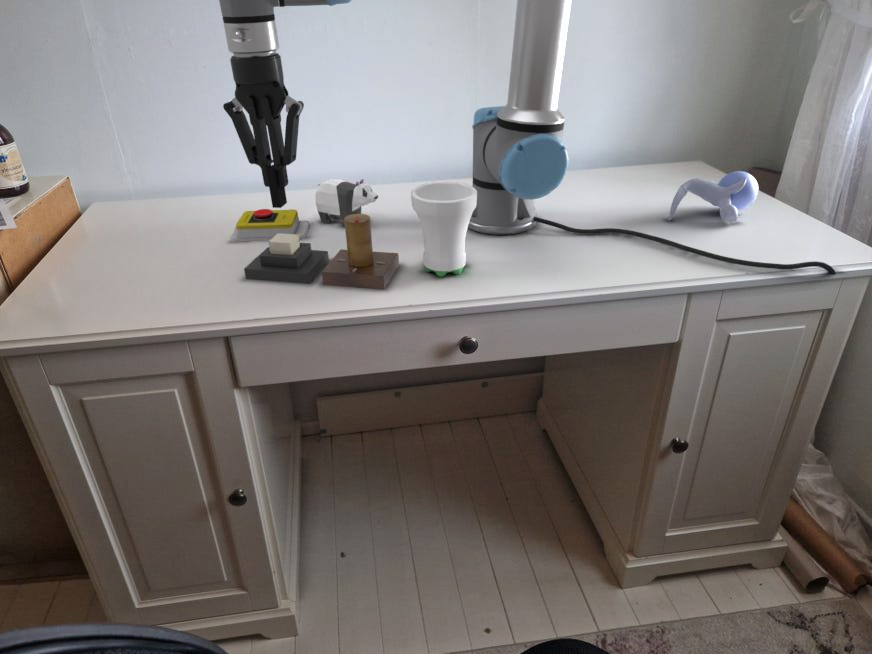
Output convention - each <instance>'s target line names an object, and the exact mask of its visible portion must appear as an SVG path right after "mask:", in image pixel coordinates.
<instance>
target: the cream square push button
mask: <svg viewBox="0 0 872 654" xmlns="http://www.w3.org/2000/svg"><path fill="white" fill-rule="evenodd" d="M300 243H301V242H300V240H299V235H297V234H280V233H278V234H276V235H275V236H274V237H273V238H272V239H271V240H270V241H268V247H270V253H271V254H282V255H293V254H294V253H295V252H296V251H297V250H298V249H299V248H300Z"/></svg>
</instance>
